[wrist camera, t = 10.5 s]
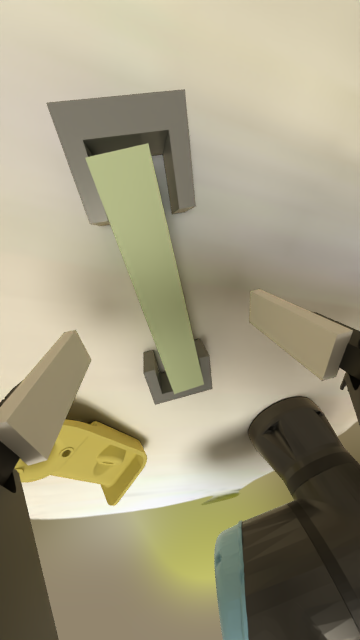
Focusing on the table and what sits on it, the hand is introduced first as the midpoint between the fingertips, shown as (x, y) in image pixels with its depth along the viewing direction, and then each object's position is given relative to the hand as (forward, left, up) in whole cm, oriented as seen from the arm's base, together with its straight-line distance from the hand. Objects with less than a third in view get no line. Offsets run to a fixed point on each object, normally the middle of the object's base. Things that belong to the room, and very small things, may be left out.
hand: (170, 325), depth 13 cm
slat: (0, 0, -7) cm, 7 cm away
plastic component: (-20, +16, -7) cm, 26 cm away
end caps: (0, 0, -6) cm, 6 cm away
